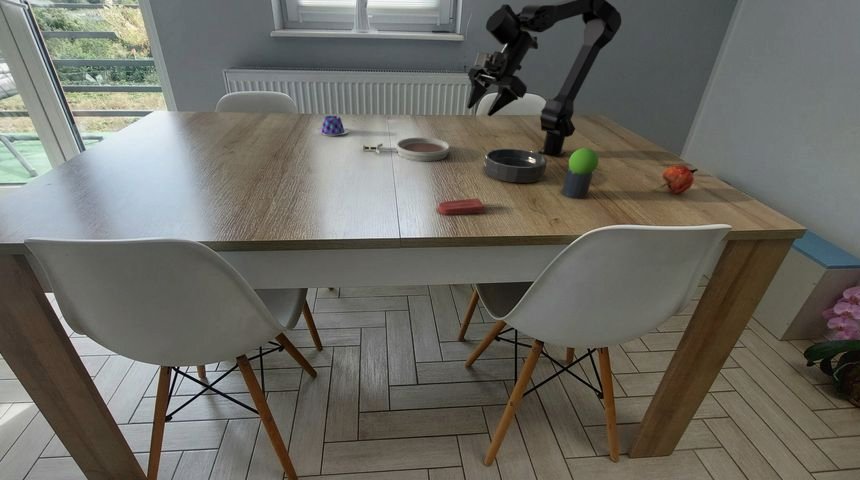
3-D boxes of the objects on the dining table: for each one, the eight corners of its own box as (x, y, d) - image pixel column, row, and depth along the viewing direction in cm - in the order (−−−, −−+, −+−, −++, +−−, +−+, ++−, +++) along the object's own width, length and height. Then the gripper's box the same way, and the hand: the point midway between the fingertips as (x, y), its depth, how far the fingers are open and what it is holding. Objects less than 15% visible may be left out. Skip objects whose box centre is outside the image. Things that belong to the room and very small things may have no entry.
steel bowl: (498, 160, 123) (500, 145, 120) (551, 172, 115) (555, 156, 112) (473, 174, 112) (475, 158, 110) (529, 189, 104) (533, 172, 102)
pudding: (348, 137, 140) (347, 121, 137) (313, 136, 140) (312, 120, 137) (351, 128, 150) (350, 113, 147) (318, 127, 150) (317, 112, 147)
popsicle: (506, 204, 92) (442, 209, 89) (504, 211, 93) (441, 216, 90) (498, 196, 95) (436, 201, 93) (496, 203, 96) (435, 208, 94)
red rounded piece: (660, 205, 102) (707, 187, 97) (649, 179, 101) (696, 159, 96) (656, 198, 108) (700, 180, 103) (645, 173, 107) (689, 154, 102)
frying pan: (364, 135, 134) (449, 137, 132) (364, 144, 136) (448, 146, 134) (356, 151, 120) (452, 153, 118) (357, 161, 122) (451, 163, 120)
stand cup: (565, 187, 105) (572, 165, 102) (589, 193, 103) (596, 170, 99) (558, 194, 102) (564, 171, 98) (582, 200, 99) (589, 176, 95)
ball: (570, 168, 103) (577, 143, 99) (596, 174, 100) (605, 148, 96) (562, 175, 99) (569, 149, 95) (589, 181, 96) (597, 154, 92)
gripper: (471, 33, 107) (440, 89, 112) (519, 39, 94) (480, 103, 98) (496, 58, 114) (465, 110, 119) (543, 67, 101) (506, 125, 105)
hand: (478, 111), depth 110 cm, fingers open, 9 cm apart
